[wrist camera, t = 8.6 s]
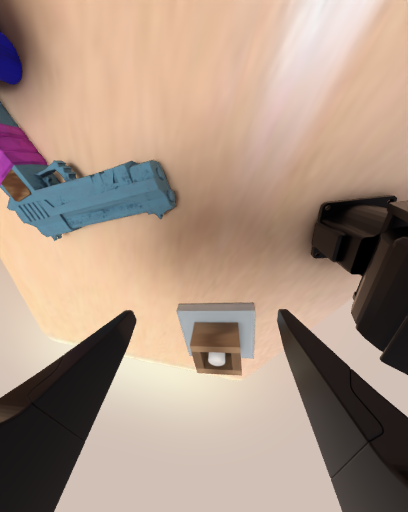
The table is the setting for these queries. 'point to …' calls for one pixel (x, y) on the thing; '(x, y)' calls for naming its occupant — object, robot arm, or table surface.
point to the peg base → (220, 313)
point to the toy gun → (74, 187)
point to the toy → (9, 62)
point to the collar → (216, 347)
